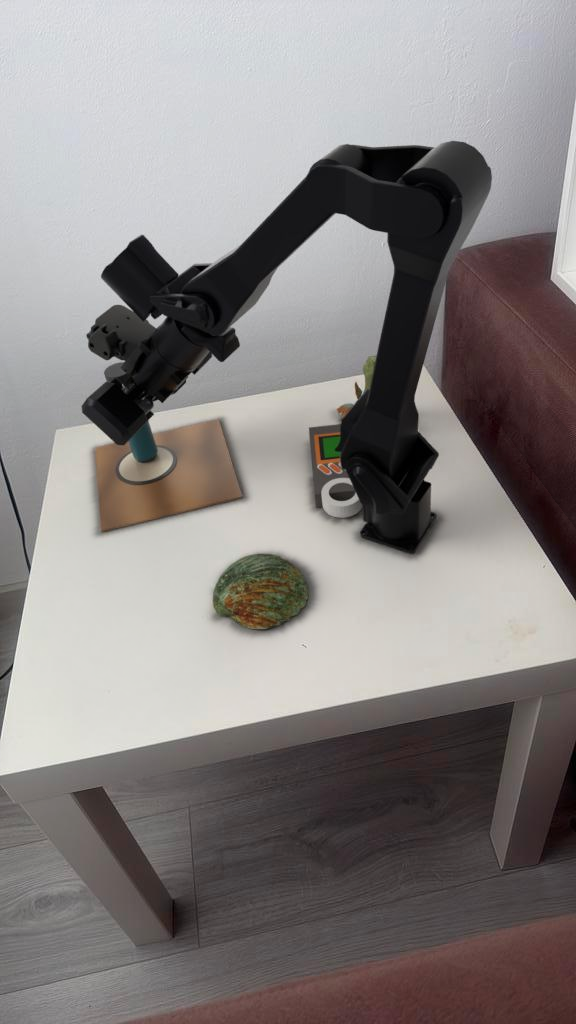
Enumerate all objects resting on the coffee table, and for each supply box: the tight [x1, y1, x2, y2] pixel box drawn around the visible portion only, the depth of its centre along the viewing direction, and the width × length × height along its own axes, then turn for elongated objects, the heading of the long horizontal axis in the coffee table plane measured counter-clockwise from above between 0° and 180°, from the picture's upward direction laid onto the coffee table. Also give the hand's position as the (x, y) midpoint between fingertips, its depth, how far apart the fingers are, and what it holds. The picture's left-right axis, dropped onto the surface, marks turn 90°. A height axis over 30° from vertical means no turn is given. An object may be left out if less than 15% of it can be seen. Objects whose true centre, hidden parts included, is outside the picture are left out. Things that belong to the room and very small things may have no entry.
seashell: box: [212, 553, 309, 630], centre depth 75 cm, size 10×4×10 cm
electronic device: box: [308, 423, 362, 519], centre depth 88 cm, size 7×3×15 cm
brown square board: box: [94, 418, 243, 533], centre depth 93 cm, size 17×17×1 cm
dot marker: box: [103, 361, 158, 463], centre depth 91 cm, size 3×3×13 cm
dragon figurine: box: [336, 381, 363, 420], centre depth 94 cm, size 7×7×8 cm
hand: (123, 412), depth 92 cm, fingers closed on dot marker, 3 cm apart
